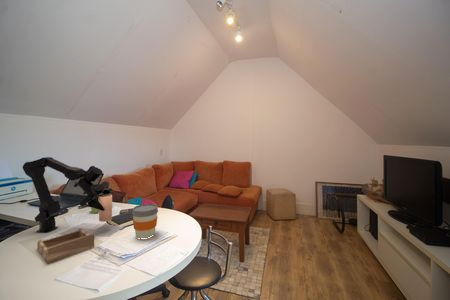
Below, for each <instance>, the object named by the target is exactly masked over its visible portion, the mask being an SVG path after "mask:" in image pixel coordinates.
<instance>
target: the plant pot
mask: <svg viewBox="0 0 450 300" xmlns="http://www.w3.org/2000/svg"><path fill="white" fill-rule="evenodd" d="M98 201H99V198H98ZM90 210H91V213H92V214H96V213H98V214H99V209H96V208H92V207H90Z"/></svg>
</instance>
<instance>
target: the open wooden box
mask: <svg viewBox="0 0 450 300" xmlns="http://www.w3.org/2000/svg"><path fill="white" fill-rule="evenodd" d="M36 243H37V251H38V252H39V253H40V255H41V257H42V258H43V259H44V260H45V262H46V263H47V265H50V264H52V263H55V262H58V261H60V260H64V259H66V258H69V257H71V256H74V255H77V254H81V253H83V252H85V251H88V250H91V249H93V248H95V236H94V234H90V235H89V233H87V232H86V231H85V230H83V229H82V228H78V230H75V231H71V232H68V233H65V234H62V235H59V236H55V237H51V238H48V239H44V240H41V239H39V240H37V242H36Z"/></svg>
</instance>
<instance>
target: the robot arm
mask: <svg viewBox="0 0 450 300" xmlns="http://www.w3.org/2000/svg"><path fill="white" fill-rule="evenodd" d="M47 167H48V168H50V169H52V170H54V171H57V172H59V173H61V174H63V176H64V177H65V178H67V179H68V180H69V181H71V182H72V181H75V182H74V185H73V187H74V188H77V187H79V188H80V189H81V190H82V191H83V193H82V194H83V195H85V196H84V197H83V198H82V199H80V201H79V206H80V207H81V208H84V207H88V208H91V207H92V208H96V209H99V210H102V211H104V210H105V209H104V208H103V206H102V205H101V204H100V202H99V201H98V198H99V196H100V195H104V194H112V193H113V192H114V190H113V189H112V188H109V187H110V182H108V181H107V180H105V181H102V182H101V183H99V184H94V182H96V181H97V180H98V179H99V178H100V177H101V175H103V171H102V169H100V167H96V166H95V165H91V166H90V167H89V168H88V169H87V170H84V168H82V167H81V168H80V167H75V166H70V165H68V164H66V163H64V162H62V161H59V160H57V159H55V158H54V157H51V156H47V157H46V156H45V157H41V158H39V159H36V160H32V161H26V162H24V163H23V165H22V170H23V172H24V173H25V176H28V177H29V178H30V179H31V181H32V184H33V186H34V189H35V191H36V195H37V197H38V200H39V202H40V204H39V208H38V211H39V212H38V214H37V215H36V216H35V217H34V221H35V223H39V225H38V226H39V229H38V230H36V233H49V232H51V231H53V230H56V229H58V228H59V226H56V223H57V222H56V218H57V217H58V216H59V215H60V212H61V211H62V210H61V207H62V206H61V204H60V201H59V200H54V198H53V197H52V194H51V192H50V189H49V185H48V183H47V181H46V178H45V176H44V175H45V172H46V168H47Z"/></svg>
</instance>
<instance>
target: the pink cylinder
mask: <svg viewBox="0 0 450 300" xmlns="http://www.w3.org/2000/svg"><path fill="white" fill-rule="evenodd" d="M99 202H100V204H101V205H102V206H103V208H104V209H105V210H104V211H102V210H99V213H98V221H99V222H109V221H111V220H112V219H113V194H112V193H111V194H104V195H100V196H99Z"/></svg>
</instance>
